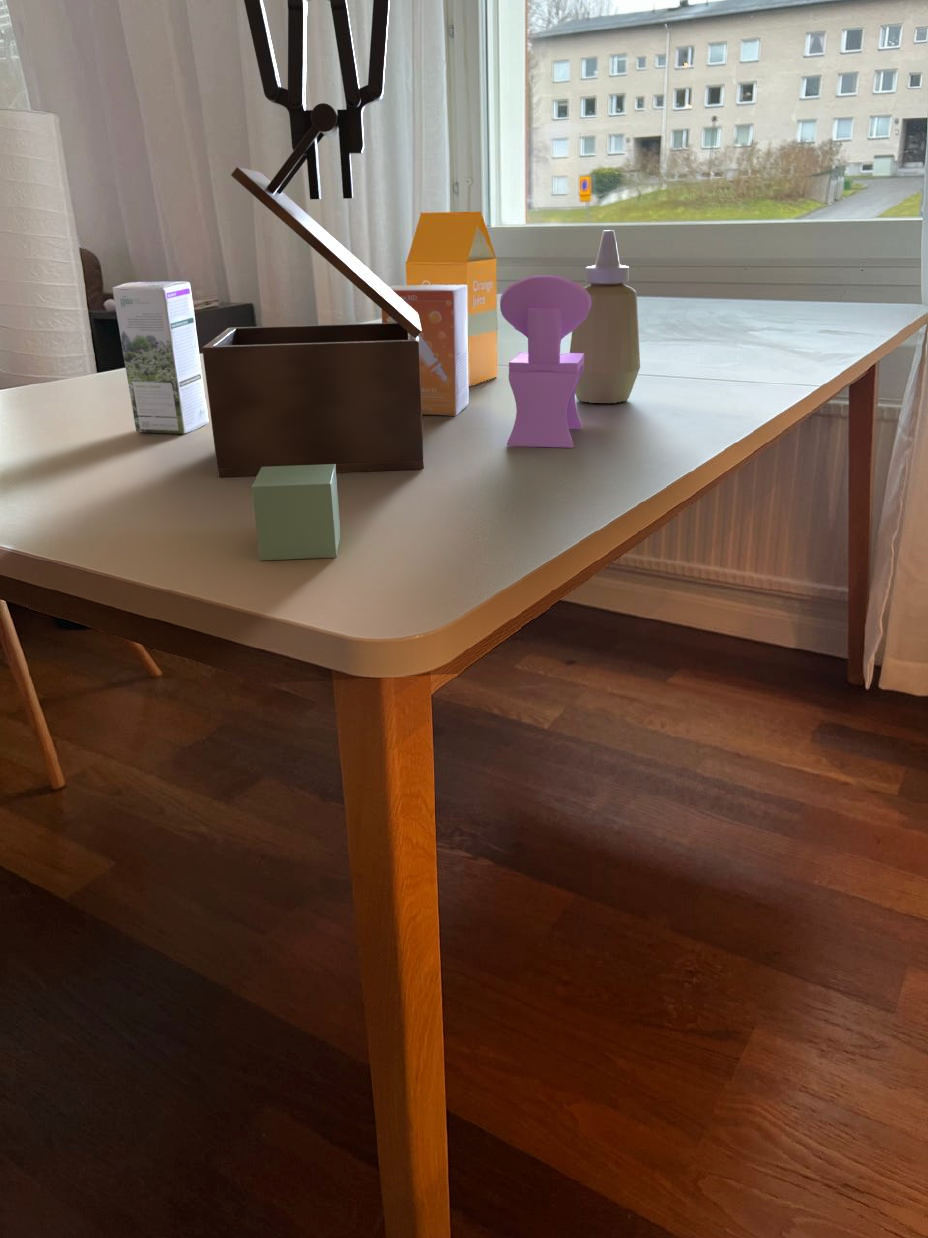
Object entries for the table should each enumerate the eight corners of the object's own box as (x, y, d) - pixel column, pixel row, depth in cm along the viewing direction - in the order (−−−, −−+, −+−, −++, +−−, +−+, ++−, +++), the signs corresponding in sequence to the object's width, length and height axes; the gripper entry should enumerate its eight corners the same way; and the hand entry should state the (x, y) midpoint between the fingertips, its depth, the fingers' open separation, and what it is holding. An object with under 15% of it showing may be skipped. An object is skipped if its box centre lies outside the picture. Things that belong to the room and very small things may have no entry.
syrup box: (210, 422, 103) (192, 279, 97) (184, 435, 97) (162, 284, 92) (162, 421, 104) (141, 280, 98) (133, 433, 99) (109, 284, 93)
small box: (385, 414, 105) (378, 288, 99) (401, 403, 110) (396, 283, 105) (457, 416, 103) (454, 288, 98) (470, 404, 109) (467, 283, 103)
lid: (230, 174, 73) (301, 76, 71) (254, 178, 85) (315, 95, 83) (415, 338, 79) (486, 252, 76) (412, 320, 91) (474, 245, 89)
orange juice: (469, 386, 119) (465, 212, 111) (409, 382, 123) (401, 213, 115) (498, 377, 125) (497, 210, 117) (441, 372, 129) (435, 211, 121)
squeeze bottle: (556, 396, 112) (558, 230, 105) (618, 391, 114) (625, 228, 107) (585, 409, 105) (590, 232, 98) (651, 403, 107) (661, 229, 100)
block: (259, 561, 63) (251, 486, 61) (269, 536, 67) (261, 466, 65) (336, 557, 63) (330, 483, 61) (340, 533, 67) (335, 463, 65)
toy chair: (592, 427, 97) (597, 269, 91) (584, 447, 89) (589, 276, 83) (511, 425, 98) (510, 270, 92) (496, 445, 90) (494, 277, 84)
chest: (218, 477, 82) (201, 347, 78) (241, 441, 95) (228, 327, 90) (423, 469, 83) (418, 340, 79) (420, 434, 95) (415, 321, 91)
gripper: (408, -134, 75) (421, 196, 84) (212, -133, 74) (247, 200, 83) (410, -168, 68) (423, 196, 77) (194, -167, 67) (234, 201, 76)
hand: (332, 198), depth 80 cm, fingers closed on lid, 2 cm apart
